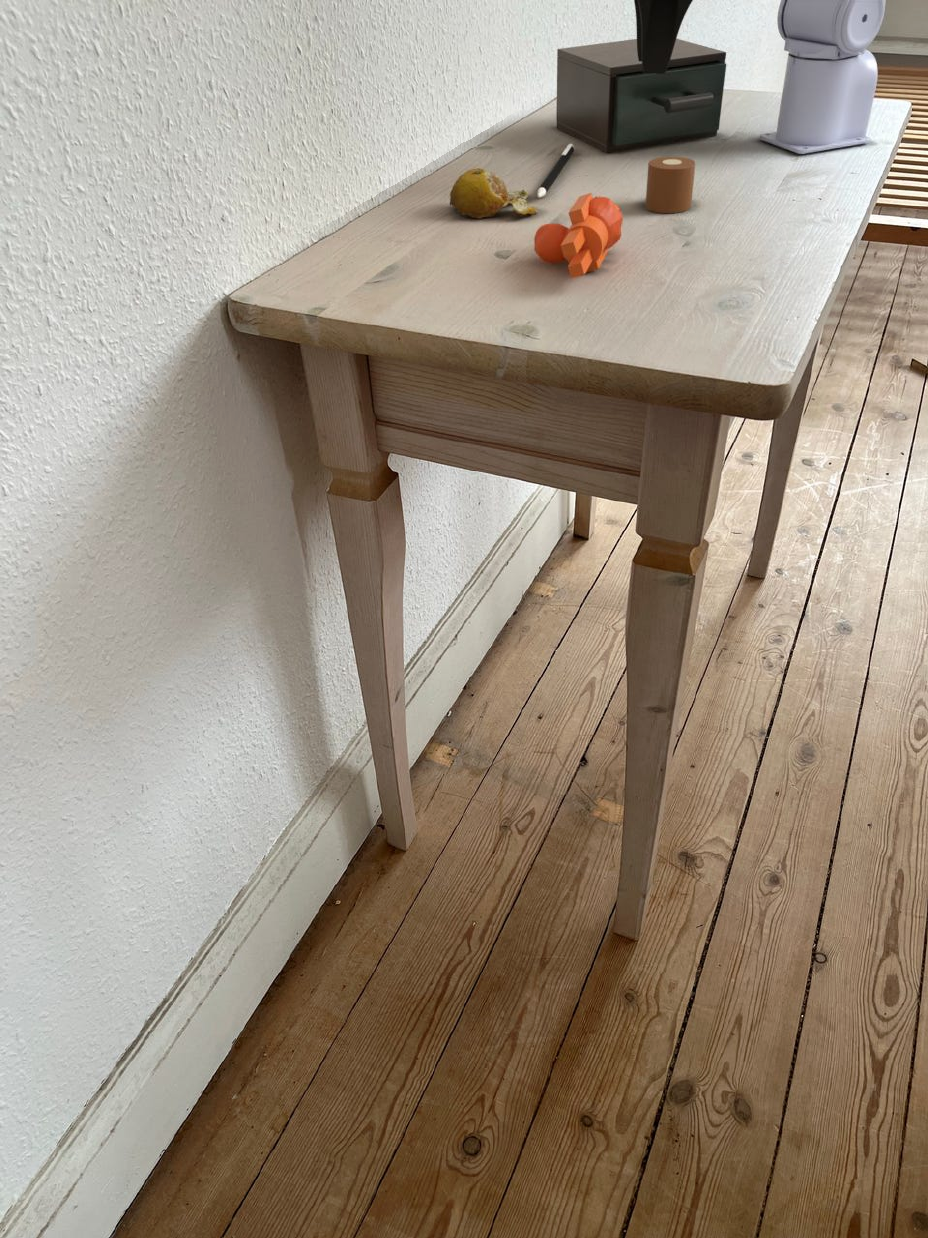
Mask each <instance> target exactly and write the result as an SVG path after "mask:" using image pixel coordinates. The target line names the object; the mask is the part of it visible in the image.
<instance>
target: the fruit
mask: <svg viewBox="0 0 928 1238" xmlns="http://www.w3.org/2000/svg"><path fill="white" fill-rule="evenodd" d="M449 197H450V198H449V205H450V206H452V207H453V208H455V209H457V211H458V212H459V213H461V216H464V215H468V216H470V217H471V218H476V219H479V220H482V218H488V217H490V218H493V217H494V216H495V215H496V214H497V213H498V211H499V210H500V209H502V208H505V207H506V206H508V205H509V204H511V205H512V210H513V212H514V213H515V214H516V216H517V217H518V218H521V216H525V215H527V214H529V215H535V214H537V213H538V211H537V209H536V208H535V207H534V206H533V205H532V206H529V205H528V202H527V198H528V193H527V192H526V191H525V190H524V189H522V190H514V191H509V192H508V189H507V186H506V184H505V182H504V180H503V179H502V178H500V177H499V176H498V175H496V174H495V172H491V171H487V170H486V169H484V168H483V169H482V168H480V167H478V168H477V167H476V168H471V169H468V170H467V171H465V172H464V173H463V174H461V175H460V176H459V177H458V178H457V179H456V181H455V183H454V184H453V186H452V189H451V191H450V194H449Z"/></svg>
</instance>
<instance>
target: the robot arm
mask: <svg viewBox="0 0 928 1238" xmlns="http://www.w3.org/2000/svg"><path fill="white" fill-rule="evenodd" d="M693 1H694V0H633V3H634V9H635V24H636V39H637V53H638V60H639V61H642V67H643V73H651V74H665V73H666V70H667V68H668V65H669V62H670V59H671V55H672V52H673V49H674V45H675V42H676V38H677V39H678V35H679V32H680V30H681V29H680V28H681V26H682V23H683V21H684V19H685V16H686V14H687V13H688V10H689V8H690V7H691V4H692V3H693ZM886 2H887V1H886V0H780V3H779V6H778V11H777V17H776V18H777V29H778V33H779V35H780V36H781V38H782V40H783V41H784V46H783V51H785V52H788V53H787V61H786V67H785V74H784V79H783V86H782V92H781V100H780V105H779V113H778V119H777V126H776V131H771V132H767V133H761V134H759V137H758V138H759V140H761V141H763V142H766V143H769V144H772V145H774V146H776V147H779V148H782V149H784V150H787V151H790V152H793V153H795V154H799V155H804V154H811V153H815V152H821V151H828V150H832V149H833V150H834V149H839V148H845V147H846V148H847V147H851V146H857V145H863V144H869V143H870V142H871V137H868V136H867V133H868V127H869V122H870V117H871V113H872V109H873V104H874V99H875V94H876V89H877V84H878V78H879V77H878V73H879V71H878V64H877V60H876V57H875V56H874V54H873V53H872V52H870V51H869V50H868V49H867V47H868V46H870V44H872V42H873V40H874V39H875V38H876V36H877V34H878V33H879V31H880V28H881V26H882V23H883V22H884V21H883V20H884V17H885V11H886Z"/></svg>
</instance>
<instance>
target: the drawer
mask: <svg viewBox="0 0 928 1238" xmlns="http://www.w3.org/2000/svg"><path fill="white" fill-rule="evenodd" d="M726 71H727V63H726V62H725V63H722V62H717V63H710V64H709V63H700V64H693V65H686V66H679V67H671V68H667V70H666V73H665V74H651V73H643V71H642V72H635V73H628V74H620V75H616V77H615V90H614V110H613V130H612V144H613V145H615V146H621V145H627V144H634V143H640V142H646V141H653V140H659V139H665V138H672V137H678V136H684V135H691V134H697V133H703V132H710V131H716V130H717V131H719V130H720V124H721V123H720V122H721V115H722V106H723V99H724V88H725V81H726Z"/></svg>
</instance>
